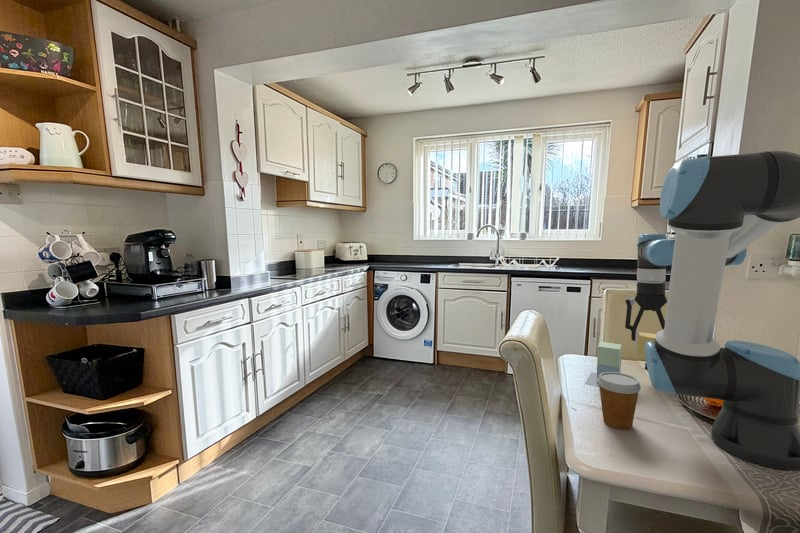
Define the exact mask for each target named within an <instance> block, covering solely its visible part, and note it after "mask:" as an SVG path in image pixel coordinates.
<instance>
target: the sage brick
mask: <svg viewBox="0 0 800 533" xmlns="http://www.w3.org/2000/svg"><path fill="white" fill-rule="evenodd" d="M622 345H623V344H621V343H613V342H607V341H606V342H605V341H599V343H598V345H597V349H596V350H597V351H596V352H597V357H596V358H597V362H596V363H597V364H598V365H603V366H609V367H615V368H619V367H620V364H621V365H622ZM597 364H596V365H597Z"/></svg>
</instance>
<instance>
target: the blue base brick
mask: <svg viewBox="0 0 800 533" xmlns="http://www.w3.org/2000/svg"><path fill="white" fill-rule="evenodd" d="M621 370H622V363H621V364H620V367H619V368H615V367H609V366H603V365H598V364H596V373H597V379H598V378H599V375H600V374H601V373H603V372H618V373H622V372H621ZM597 383H598V382H597Z"/></svg>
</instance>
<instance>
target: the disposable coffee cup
mask: <svg viewBox="0 0 800 533" xmlns="http://www.w3.org/2000/svg"><path fill="white" fill-rule="evenodd" d="M597 382H598V384H599V394H600V403H601V412H602V418H603V419H602V421H603V423H604V422H605V423H606V424H605V423H604V424H605V425H606V426H608V427H610V428H612V429H616V430H620V431H621V430H623V431H625V430H630V429H633V425H634V424H633V423H634V418H635V413H636V408H637V407H636V406H637V403H638V396H639V392H640V391H641V389H642V386H641V384H640V381H639V379H638V378H636V376H635V377H634V376H632V375H629V374H626V373H622V372H621V373H618V372H603V373H601V374H600V375H599V378H598V379H597Z"/></svg>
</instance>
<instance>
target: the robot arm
mask: <svg viewBox="0 0 800 533" xmlns="http://www.w3.org/2000/svg"><path fill="white" fill-rule="evenodd" d="M658 210H659V213H660V217H661V218H663V219H666V220H667V226H668V228H670V229H671V230H672V231H673V232H674V233H675V237H674V239H670V238H669V239H667V235H666V234H665V233H648V234H647V233H644V234H643V233H642V234H639V235H638V239H637V244H636V247H637V265H636V266H637V267H636V280H637V281H638V282H636V295H635V296H634V297H633V298H626V300H625V303H626V315H625V325H624V328H625V329H627V330H630V331H631V334H630V337H631V341H634V342H635V343H634V344H635V345H634V348H635V349H634V352H637V351H638V334H639V332H640V331H639V330H638V329H637V328H638V326H639V324H640V321H641V319H642V317H643V314H644V312H645V311H652V312H655V313H656V315H657V318H658V321H659V323H660V327H661V330H659V331H657V332H656V333H655V334H656V336H655V342H653V341H650V342H646V345H645V355H644V357H645V363H646V364H647V369H646V370H647V374H648V377H649V379H650V380H649V381H650V383H651V385H652V387H653V388H654V389H655V390H656V391H659V392H660V393H667V394H673V395H674V396H678V395H679V396H680V395H681V396H689V397H697V398H703V399H705V398H706V399H710V400H711V399H712V400H720V401H722V407H721V409H720V411H719V412H718V415H717V416H716V418H715V419H714V422H713V423H712V425H711V433H710V434H711V436H710V437H711V440H712V442H714V443H715V444H716V445H717V446H718V447H720V448H721V449H722V450H724V451H726V452H728V453H729V454H731V455H734V456H736V457H737V458H740V459H742V460H745V461H747V462H750V463H754V464H756V465H760V466H763V467H768V468H772V469H778V470H784V471H799V470H800V427H799V411H800V360H799V359H798V358H797V357H796V356H794V354H791V353H789V352H787V351H784V350H781V349H778V348H775V347H772V346H768V345H764V344H760V343H754V342H750V341H743V340H727V341H726V342H725V343H724V347H721V345H720V343H719V342H718V341H717V340H716V339H715V338H714V333H715V325H716V321H717V320H716V319H717V315H718V309H719V302H720V297H721V292H722V291H721V290H722V285H723V279H724V275H725V274H724V273H725V267H728V266H738V265H741V264H742V263H744V262H745V259H746V257H747V252H748V251H747V250H748V249H747V248H749V247H750V246H751V245H752V244H754V243H755V242H757V241H758V240H760V239H761V238H762V237H764V236H765V235H766V234H768V233H770V232H771V231H772V230H774V229H775V228H777V227H778V226H779V225H781V224H782V223H789V222H792V221H795V220H797V219H800V154H798V153H796V152H791V151H785V150H772V151H771V150H769V151H768V150H767V151H762V152H751V153H740V154H739V153H738V154H728V155H727V154H726V155H715V156H702V157H696V158H691V159H689V158H688V159H684V160H683V159H682V160H680V161H679V162H676V163H675V164H674V165H672V167H671V168H670V169H669V171H668V173H667V174H666V177H665V179H664V182H663V184H662V188H661V191H660V198H659V209H658ZM667 266H671V270H670V277H669V278H670V279H669V288H668V294H667V296H668V297H667V298H666V283H665V282H666V280H667V279H666V274H667V268H666V267H667ZM635 302H636V304H638V306H639V307H640V308H639V310H638V313H637V315H636V317H635V320H634V322H633V325H631V320H632V311H633V310H632V309H633V305H634V304H635ZM665 305H666V311H665V312H666V313H665V318H664V315H663V312H662V308H663V307H664V306H665Z"/></svg>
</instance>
